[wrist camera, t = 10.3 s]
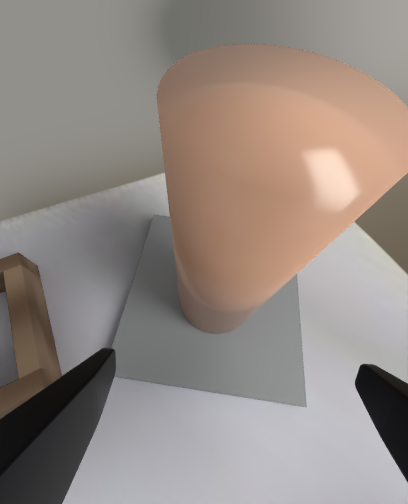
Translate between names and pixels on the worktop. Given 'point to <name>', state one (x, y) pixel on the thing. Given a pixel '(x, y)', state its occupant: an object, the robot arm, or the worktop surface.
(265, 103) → the tan piece
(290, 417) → the worktop surface
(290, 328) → the pad
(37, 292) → the collar
